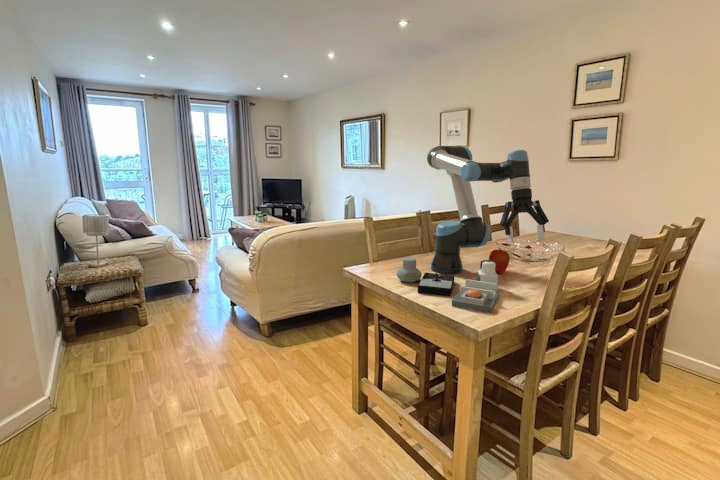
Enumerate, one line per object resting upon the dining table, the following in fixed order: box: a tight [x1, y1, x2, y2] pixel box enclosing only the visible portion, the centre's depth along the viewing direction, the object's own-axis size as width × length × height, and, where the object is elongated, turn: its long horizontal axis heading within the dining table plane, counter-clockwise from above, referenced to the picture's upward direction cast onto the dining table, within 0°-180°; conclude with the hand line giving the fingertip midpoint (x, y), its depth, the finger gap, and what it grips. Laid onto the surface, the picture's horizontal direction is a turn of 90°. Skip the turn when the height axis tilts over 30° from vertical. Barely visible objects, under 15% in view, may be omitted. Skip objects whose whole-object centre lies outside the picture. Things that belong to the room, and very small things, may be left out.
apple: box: [488, 248, 511, 274], centre depth 178 cm, size 9×9×12 cm
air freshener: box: [396, 257, 423, 284], centre depth 165 cm, size 11×8×10 cm
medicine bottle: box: [476, 259, 499, 284], centre depth 155 cm, size 7×7×12 cm
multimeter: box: [417, 272, 455, 297], centre depth 157 cm, size 13×19×5 cm
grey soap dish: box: [451, 278, 500, 314], centre depth 142 cm, size 14×19×5 cm
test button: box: [467, 289, 482, 299], centre depth 137 cm, size 5×5×2 cm
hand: (526, 242), depth 149 cm, fingers open, 13 cm apart
